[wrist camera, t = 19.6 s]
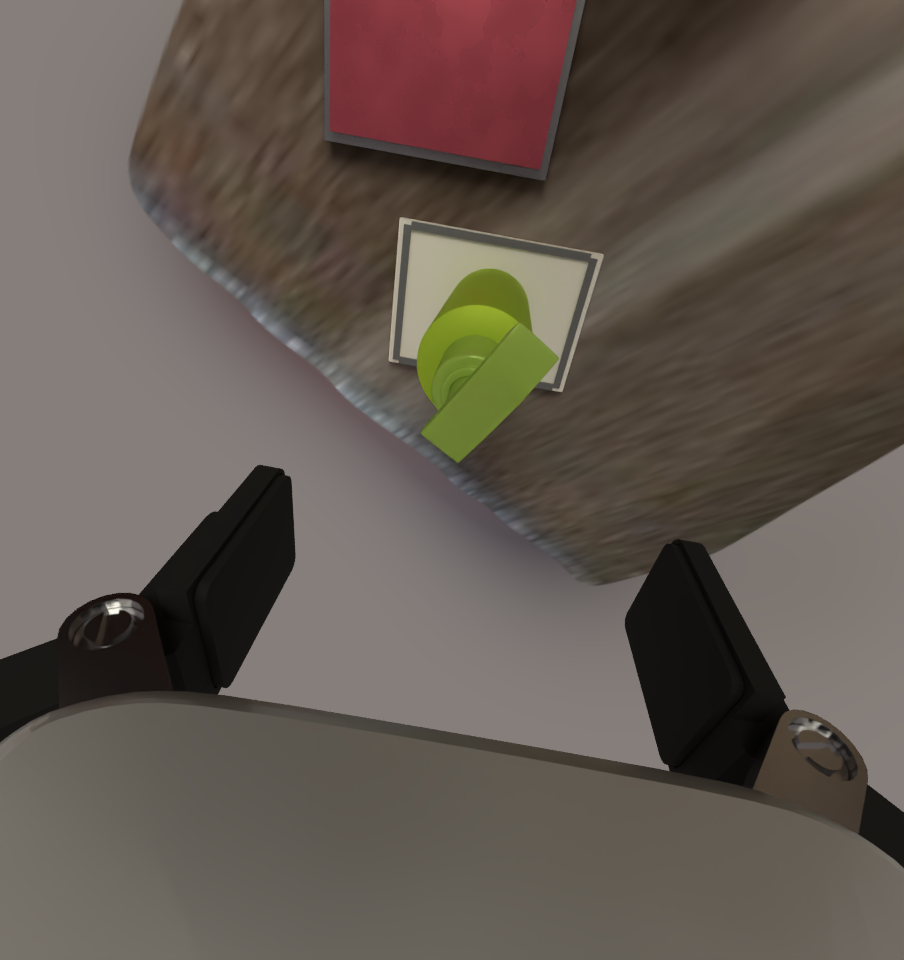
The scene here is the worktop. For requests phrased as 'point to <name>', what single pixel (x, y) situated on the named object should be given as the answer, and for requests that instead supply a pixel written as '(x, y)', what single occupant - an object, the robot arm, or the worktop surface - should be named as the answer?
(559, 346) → the marked card
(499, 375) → the soap dispenser
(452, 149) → the ink pad
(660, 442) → the worktop surface
